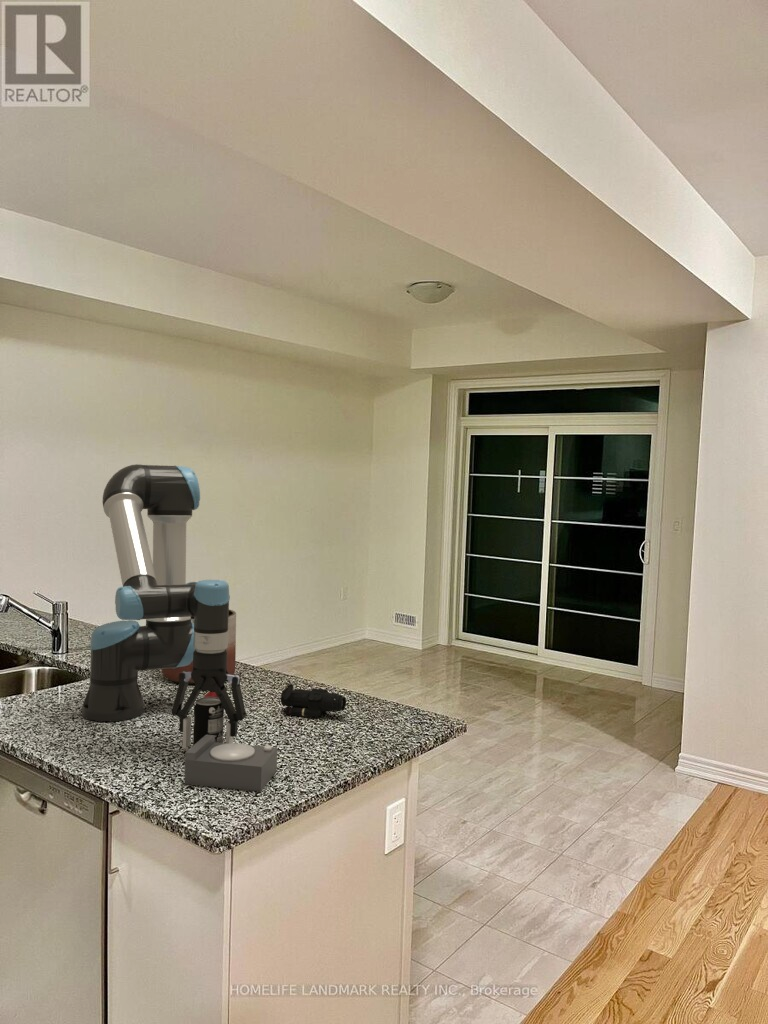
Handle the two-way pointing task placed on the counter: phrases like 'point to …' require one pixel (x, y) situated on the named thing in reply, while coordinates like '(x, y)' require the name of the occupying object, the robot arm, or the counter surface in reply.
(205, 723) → the beverage can
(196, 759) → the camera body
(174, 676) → the planter
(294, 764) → the counter surface
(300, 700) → the night vision scope
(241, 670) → the counter surface
